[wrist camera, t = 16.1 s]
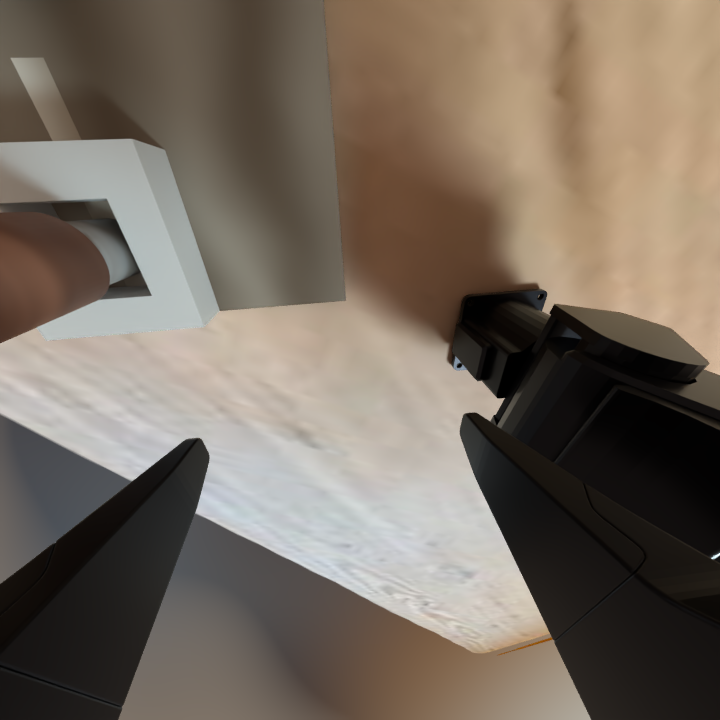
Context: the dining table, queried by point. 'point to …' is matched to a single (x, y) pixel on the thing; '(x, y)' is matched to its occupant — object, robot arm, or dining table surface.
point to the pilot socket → (136, 219)
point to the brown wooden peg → (56, 267)
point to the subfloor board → (197, 124)
